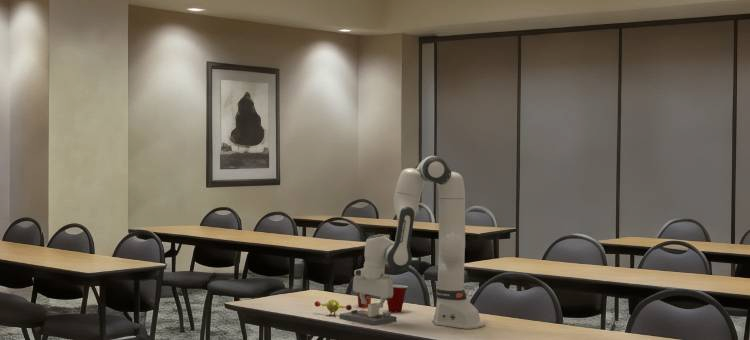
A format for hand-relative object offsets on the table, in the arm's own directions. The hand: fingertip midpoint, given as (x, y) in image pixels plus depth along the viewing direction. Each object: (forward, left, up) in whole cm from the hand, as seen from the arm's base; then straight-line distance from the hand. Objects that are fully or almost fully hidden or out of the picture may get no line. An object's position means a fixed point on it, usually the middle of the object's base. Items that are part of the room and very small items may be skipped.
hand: (372, 305), depth 399 cm
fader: (-1, -1, -4) cm, 4 cm away
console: (+3, -2, -7) cm, 8 cm away
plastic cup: (+9, -27, -7) cm, 29 cm away
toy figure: (+20, +3, -7) cm, 22 cm away
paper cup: (+26, -25, -7) cm, 37 cm away
